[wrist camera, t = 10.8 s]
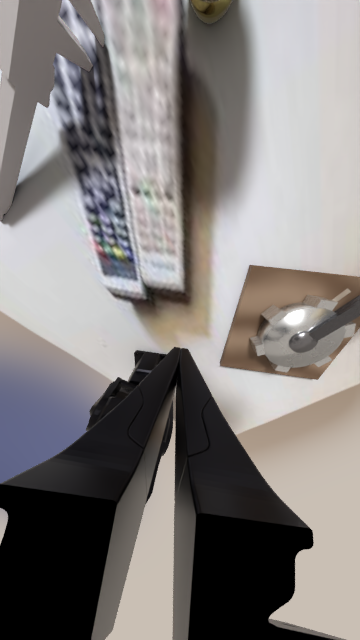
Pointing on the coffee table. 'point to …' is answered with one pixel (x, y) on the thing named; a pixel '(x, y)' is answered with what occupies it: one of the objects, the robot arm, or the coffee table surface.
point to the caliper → (32, 73)
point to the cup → (210, 9)
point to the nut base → (280, 291)
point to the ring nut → (304, 332)
